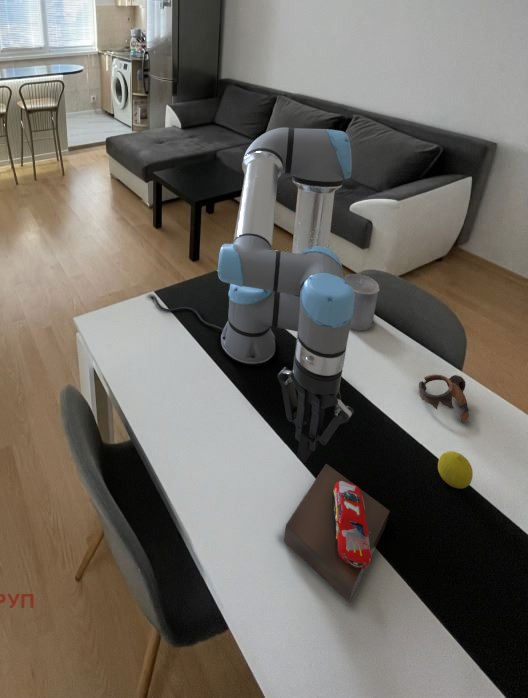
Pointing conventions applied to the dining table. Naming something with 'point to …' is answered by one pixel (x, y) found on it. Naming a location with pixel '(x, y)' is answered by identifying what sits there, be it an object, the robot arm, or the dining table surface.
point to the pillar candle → (363, 300)
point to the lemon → (455, 469)
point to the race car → (351, 525)
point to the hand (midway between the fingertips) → (304, 454)
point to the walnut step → (330, 532)
